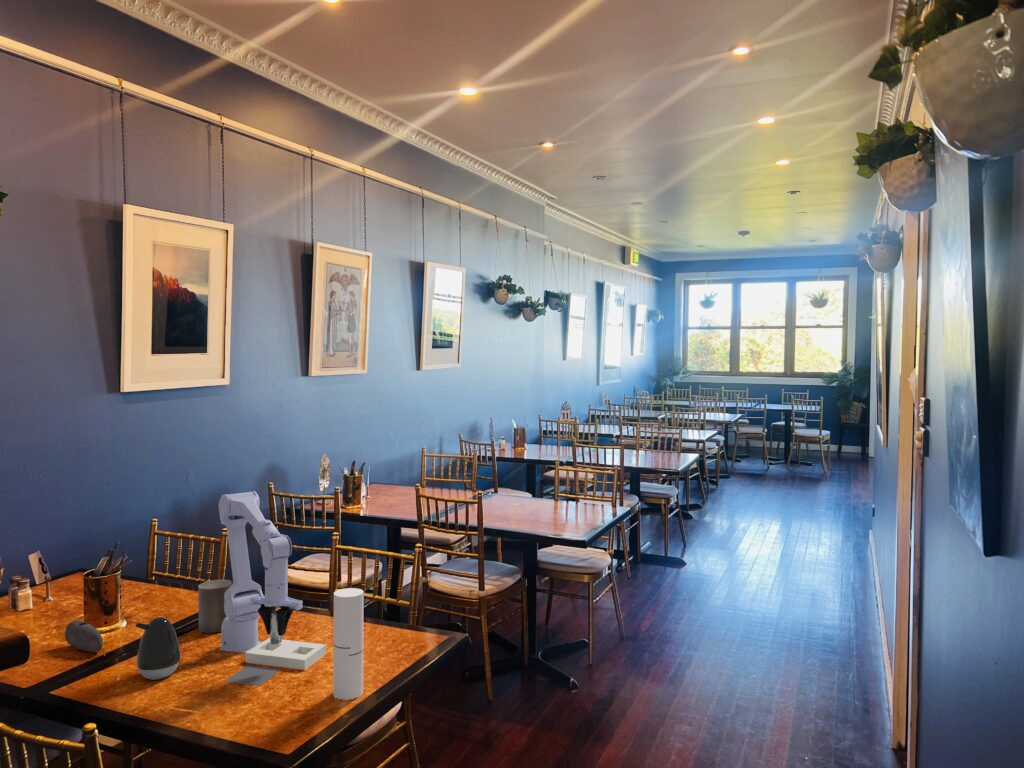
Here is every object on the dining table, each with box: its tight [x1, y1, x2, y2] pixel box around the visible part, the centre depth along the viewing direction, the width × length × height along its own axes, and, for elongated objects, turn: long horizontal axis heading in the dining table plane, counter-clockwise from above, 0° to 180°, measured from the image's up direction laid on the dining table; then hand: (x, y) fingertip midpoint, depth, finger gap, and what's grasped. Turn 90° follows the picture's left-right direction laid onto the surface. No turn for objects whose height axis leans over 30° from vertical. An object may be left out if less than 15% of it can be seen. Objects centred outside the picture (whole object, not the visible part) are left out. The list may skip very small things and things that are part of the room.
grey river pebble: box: [64, 620, 104, 653], centre depth 200 cm, size 15×5×7 cm, turn 57°
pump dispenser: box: [135, 616, 182, 681], centre depth 184 cm, size 10×10×15 cm
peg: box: [269, 609, 283, 644], centre depth 188 cm, size 3×3×8 cm
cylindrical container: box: [332, 587, 365, 701], centre depth 174 cm, size 7×7×25 cm
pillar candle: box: [197, 579, 233, 634], centre depth 218 cm, size 10×10×15 cm
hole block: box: [244, 637, 327, 671], centre depth 195 cm, size 18×11×3 cm, turn 75°
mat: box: [224, 664, 282, 687], centre depth 184 cm, size 10×10×1 cm
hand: (276, 633), depth 188 cm, fingers closed on peg, 3 cm apart
